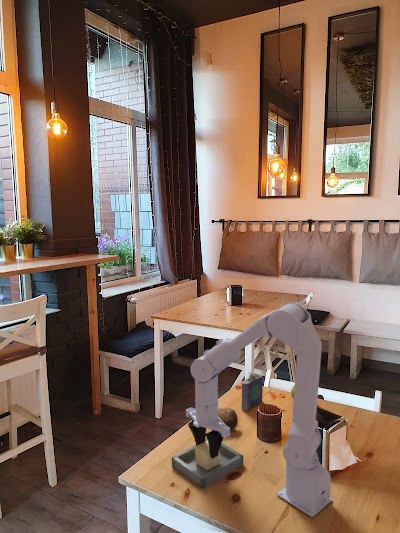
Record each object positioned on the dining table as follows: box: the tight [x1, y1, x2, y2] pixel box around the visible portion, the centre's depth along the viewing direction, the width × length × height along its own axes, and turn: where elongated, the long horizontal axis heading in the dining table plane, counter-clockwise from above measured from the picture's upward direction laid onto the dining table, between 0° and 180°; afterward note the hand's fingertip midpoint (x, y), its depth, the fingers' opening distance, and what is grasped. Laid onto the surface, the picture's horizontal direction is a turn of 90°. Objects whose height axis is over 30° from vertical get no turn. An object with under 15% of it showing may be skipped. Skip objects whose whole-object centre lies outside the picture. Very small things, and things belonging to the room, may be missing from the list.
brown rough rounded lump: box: [218, 406, 239, 433], centre depth 121 cm, size 8×8×6 cm
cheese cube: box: [195, 440, 220, 471], centre depth 103 cm, size 4×4×4 cm
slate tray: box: [171, 438, 244, 490], centre depth 103 cm, size 12×14×2 cm
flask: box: [241, 371, 264, 412], centre depth 135 cm, size 10×3×12 cm, turn 134°
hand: (207, 452), depth 103 cm, fingers closed on cheese cube, 4 cm apart
